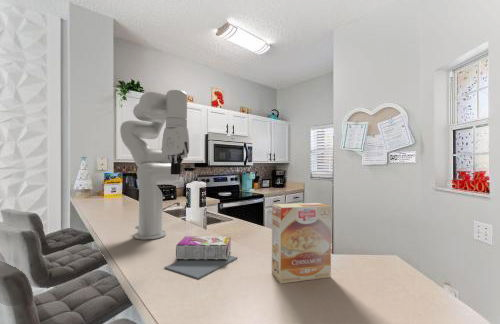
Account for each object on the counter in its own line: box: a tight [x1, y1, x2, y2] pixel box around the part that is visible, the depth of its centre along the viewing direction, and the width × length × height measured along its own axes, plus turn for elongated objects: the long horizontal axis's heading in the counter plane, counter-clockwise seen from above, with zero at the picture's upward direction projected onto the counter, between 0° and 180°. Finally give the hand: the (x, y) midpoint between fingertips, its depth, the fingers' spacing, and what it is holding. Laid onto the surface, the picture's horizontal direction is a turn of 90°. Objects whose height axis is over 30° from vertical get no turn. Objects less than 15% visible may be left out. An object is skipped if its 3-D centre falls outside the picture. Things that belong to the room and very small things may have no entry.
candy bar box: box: [175, 235, 232, 261], centre depth 84 cm, size 11×5×16 cm
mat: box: [164, 254, 238, 280], centre depth 77 cm, size 14×18×1 cm
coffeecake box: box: [271, 202, 332, 284], centre depth 69 cm, size 15×7×20 cm, turn 105°
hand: (175, 174), depth 92 cm, fingers closed
